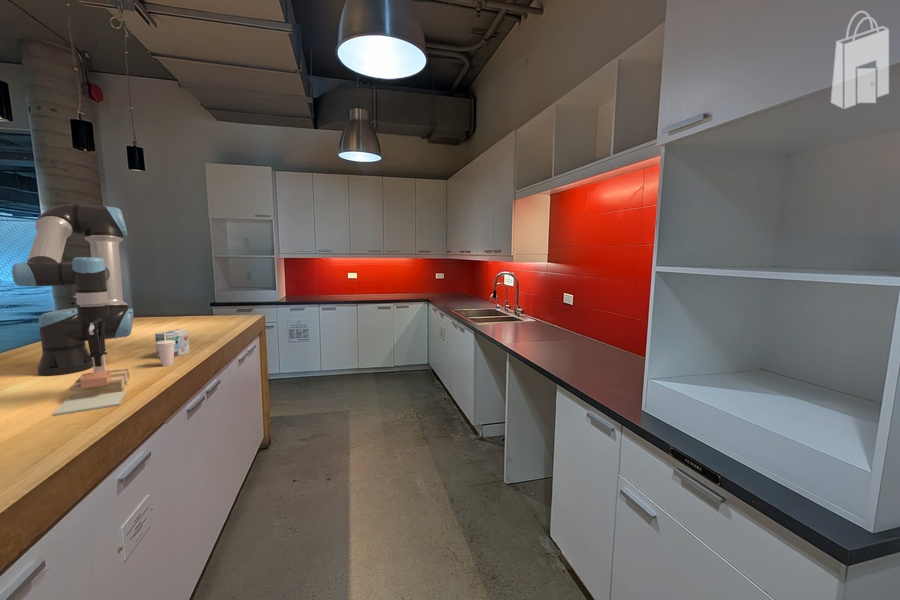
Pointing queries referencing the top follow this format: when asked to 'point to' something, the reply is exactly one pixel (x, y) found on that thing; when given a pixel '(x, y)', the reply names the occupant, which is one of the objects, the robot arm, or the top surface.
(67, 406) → the mat
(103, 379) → the tile
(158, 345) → the smoothie
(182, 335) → the light bulb box
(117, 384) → the deck
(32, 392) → the top surface
